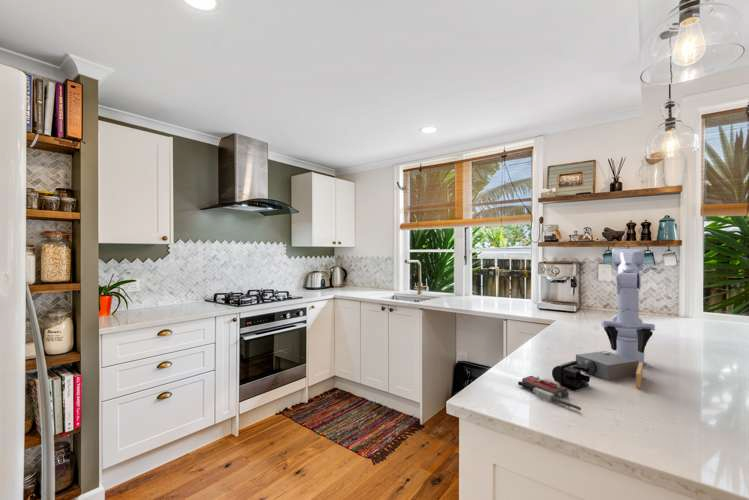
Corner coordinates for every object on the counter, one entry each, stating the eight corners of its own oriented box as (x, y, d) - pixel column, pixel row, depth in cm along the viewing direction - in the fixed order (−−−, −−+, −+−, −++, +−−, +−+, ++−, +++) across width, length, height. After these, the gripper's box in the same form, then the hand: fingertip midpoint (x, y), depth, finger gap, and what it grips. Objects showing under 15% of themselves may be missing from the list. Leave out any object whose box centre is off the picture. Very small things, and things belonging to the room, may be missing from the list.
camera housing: (605, 364, 131) (605, 349, 131) (638, 375, 120) (638, 359, 120) (572, 368, 126) (572, 353, 126) (604, 380, 114) (604, 363, 114)
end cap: (567, 378, 117) (568, 358, 116) (590, 385, 111) (590, 364, 111) (551, 384, 111) (551, 363, 111) (574, 392, 105) (574, 370, 105)
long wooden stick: (639, 375, 119) (639, 362, 119) (642, 376, 118) (642, 362, 118) (635, 387, 108) (636, 373, 108) (639, 388, 108) (640, 373, 107)
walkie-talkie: (513, 388, 108) (578, 415, 91) (513, 374, 108) (578, 398, 91) (530, 383, 113) (595, 407, 96) (530, 369, 113) (595, 391, 96)
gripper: (607, 309, 111) (607, 351, 111) (660, 312, 108) (660, 356, 107) (599, 306, 118) (598, 346, 117) (648, 309, 114) (648, 350, 114)
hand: (627, 350), depth 113 cm, fingers open, 7 cm apart
